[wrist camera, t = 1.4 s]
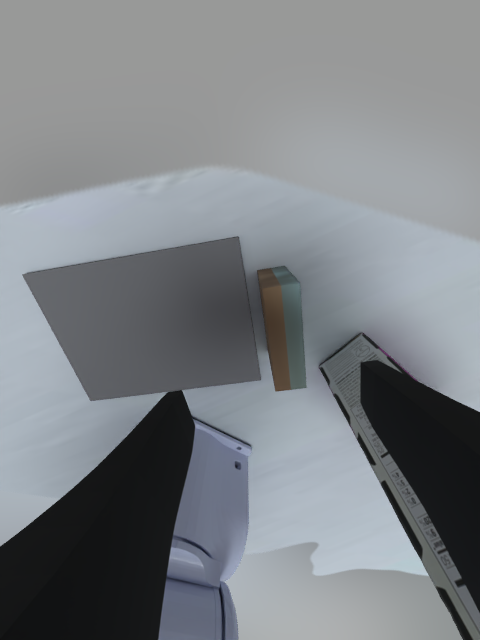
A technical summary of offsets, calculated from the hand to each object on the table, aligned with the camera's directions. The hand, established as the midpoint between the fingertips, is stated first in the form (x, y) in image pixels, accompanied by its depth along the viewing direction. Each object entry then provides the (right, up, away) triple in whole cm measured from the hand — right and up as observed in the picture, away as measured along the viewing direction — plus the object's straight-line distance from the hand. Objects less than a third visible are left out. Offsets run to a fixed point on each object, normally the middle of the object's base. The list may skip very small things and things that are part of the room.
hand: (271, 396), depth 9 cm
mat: (-8, +2, +9) cm, 13 cm away
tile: (+2, +4, +9) cm, 10 cm away
